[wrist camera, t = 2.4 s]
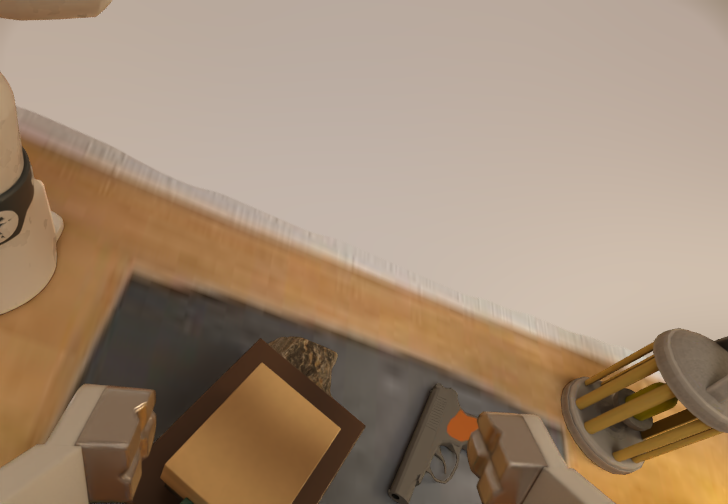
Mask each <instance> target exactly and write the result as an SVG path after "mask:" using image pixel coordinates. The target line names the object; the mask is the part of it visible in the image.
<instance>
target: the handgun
mask: <svg viewBox="0 0 728 504" xmlns="http://www.w3.org/2000/svg"><path fill="white" fill-rule="evenodd" d="M433 389H434V390H431V391H430V393H431V394H430V396H429V398H428V401H427V403H426V405H425V408H424V410H423V412H422V415H421V417H420V420H419V422H418V424H417V427H416V429H415V431H414V434H413V436H412V439H411V441H410V443H409V446H408V448H407V450H406V453H405V455H404V458H403V460H402V462H401V465H400V467H399V469H398V472H397V474H396V476H395V479H394V481H393V484H392V486H391V488H390V489H389V490H388V492H389V496H390V497H391V498H392V499H393V500H395V501H396V502H397V503H399V504H409V501H410V499H411V496H412V493H413V490H414V488H415V487H416V486H417V485H419V484H420V483H421V481H422V479H423V477H424V474H425V472H427V473H430V474H431V476H432V478H433V479H434V480H435V481H436V482H439V483H443V484H446V483H447V482H448V481H449V480H450V479H451V478H452V476H453V475H454V473H455V471H456V469H457V467H458V462H459V454H460V451H461V448H462V449H464V450H466V451H467V444H468V440H469V437H470V435H471V433H472V432H474V431H475V430H476V429H478V428H479V427H478V424H477V422H476V421H477V419H478V417H476V416H473V415H469V414H466V413H465V412H464V411H463V410H462V408H461V407H460V405H459V402H458V399H457V396H458V394H457V392H456V391H455V390H453V389H452V388H449V389H447V388H443V386H442V385H441V384H440V383H439V384H436V385H435V386H434V387H433ZM439 446H446V447H448V448H449V449H450V450H451V451H452V452H454V453H455V454H456V459H457V461H456V464H455V467H454V469H453V471H452V473H451V475H450V476H449V478H447V479H446V480H445V481H441V480H438V479H436V478H435V477H434V475H433V473H432V471H431V468H430V462H431V460H432V458H433V456H434V455H435V456H437V457H438V458H439V459H440V460H441V461H442V462H443V466H444V474H446V464H445V460H444V458H443V456H442V454H441V449H440V447H439Z"/></svg>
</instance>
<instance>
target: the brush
mask: <svg viewBox="0 0 728 504" xmlns="http://www.w3.org/2000/svg"><path fill="white" fill-rule="evenodd" d="M340 430H341V428H340V427H338V426H337V425H336V424H335V423H334V422H332V421H331V420H330V419H329V418H328V417H327V416H325V415H324V414H323V413H322V412H321V411H319V410H318V409H317V408H316V407H315V406H313V405H312V404H311V403H310V402H309V401H307V400H306V399H305V398H304V397H303V396H302V395H300V394H299V393H298V392H297V391H296V390H294V389H293V388H292V387H291V386H290V385H288V384H287V383H286V382H285V381H284V380H282V379H281V378H280V377H279V376H278V375H277V374H275V373H274V372H273V371H272V370H271V369H269V368H268V367H267V366H266V365H265V364H263V363H261V364H260V365H259V366H258V367H257V368H256V369H255V370H254V371H253V372H252V373H251V374H250V375H249V376H248V377H247V378H246V379H245V380H244V381H243V382H242V383H241V385H240V386H239V387H238V388H237V389H236V390H235V391H234V392H233V393H232V394H231V395H230V396H229V397H228V398H227V399H226V400H225V401H224V402H223V403H222V404H221V406H220V407H219V408H218V409H217V410H216V411H215V412H214V413H213V414H212V415H211V416H210V417H209V418H208V419H207V420H206V421H205V422H204V423H203V424H202V426H201V427H200V428H199V429H198V430H197V431H196V432H195V433H194V434H193V435H192V436H191V437H190V438H189V439H188V440H187V441H186V442H185V443H184V444H183V445H182V447H181V448H180V449H179V450H178V451H177V452H176V453H175V454H174V455H173V456H172V457H171V458H170V459H169V460H168V461H167V462H166V463H165V465H164V468H163V471H162V474H161V477H160V478H161V479H162V480H163V481H164V482H165V485H164V486H165V487H166V488H167V489H168V490H169V491H170V492H171V493H172V494H173V495H174V496H176V497H177V498H178V499H179V500H180V501H181V503H180V504H292V502H293V501H294V499H295V498H296V496H297V495H298V493H299V492H300V490H301V489H302V487H303V486H304V484H305V483H306V481H307V480H308V478H309V477H310V475H311V474H312V472H313V471H314V469H315V468H316V466H317V465H318V463H319V462H320V460H321V459H322V457H323V456H324V454H325V453H326V451H327V450H328V448H329V447H330V445H331V443H332V442H333V440H334V439H335V437H336V436H337V434H338V433H339V431H340Z"/></svg>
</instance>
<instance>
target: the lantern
mask: <svg viewBox="0 0 728 504" xmlns="http://www.w3.org/2000/svg"><path fill="white" fill-rule="evenodd" d="M652 351H653V353H654V355H652V356H650V357H648V358H646V359H644V360H643V361H641V362H639V363H637V364H635V365H633V366H631V367H630V368H628V369H626V370H624V371H622V372H620V373H619V374H617V375H615V376H613V377H611V378H609V379H608V380H606V381H604V382H602V381H600V380H601V379H602V378H604V377H606V376H608V375H610V374H612V373H613V372H615V371H617V370H619V369H621V368H622V367H624V366H626V365H628V364H630V363H632V362H633V361H635V360H637V359H639V358H641V357H642V356H644V355H646V354H648V353H650V352H652ZM657 371H660V373H661V375H662V377H663V379H664V381H665V382H666V383H661V382H658V383H654V384H652V385H650V386H648V387H646V388H644V389H642V390H640V391H638V392H636V393H635V392H634V391H632V390H630V389H626V388H625V387H627V386H629V385H631V384H633V383H635V382H637V381H639V380H641V379H643V378H645V377H647V376H649V375H651V374H653V373H655V372H657ZM678 400H679V401H680V402H681V403H682V404H683V405H684V406H685V407H686V408H687V409H686V410H683V411H681V412H678V413H676V414H674V415H671V416H669V417H666V418H664V419H662V420H659V421H657V422H655V423H653V418H652V417H653V416H655V415H657V414H659V413H662V412H664V411H666V410H669V409H671V408H673V407H674V406H675V405H676V404H677V401H678ZM561 404H562V413H563V416H564V419H565V422H566V425H567V428H568V430H569V432H570V433H571V435H572V437H573V439H574V440H575V442H576V444H577V445H578V446H579V447H580V448H581V450H582V451H583V452H584V453H585V455H586V456H587V457H588V458H589V459H591V460H592V461H593V462H594V463H595V464H597V465H598V466H599V467H600V468H602V469H604V470H607V471H609V472H611V473H613V474H623V475H626V474H628V473H631V472H634V471H636V470H638V469H640V468H641V467H642V465H643V463H644V461H645V460H648V459H651V458H654V457H656V456H659V455H662V454H665V453H668V452H670V451H673V450H676V449H679V448H682V447H684V446H687V445H690V444H693V443H696V442H698V441H701V440H704V439H707V438H710V437H712V436H715V435H718V434H721V433H724V432H725V433H728V337H724V338H721V339H718V340H716V341H713V340H711V339H709V338H707V337H705V336H703V335H701V334H698V333H695V332H691V331H689V330H684V329H681V328H678V329H672V330H668V331H665V332H663V333H662V334H660V335H658V336H657V338H656V339H655V341H654V342H653V343H651V344H649V345H647V346H646V347H644V348H642V349H640V350H638V351H637V352H635V353H633V354H631V355H630V356H628V357H626V358H624V359H623V360H621V361H619V362H617V363H615V364H614V365H612V366H610V367H608V368H607V369H605V370H603V371H601V372H600V373H598V374H596V375H594V376H592V377H591V378H589V377H581V378H577V379H575V380H573V381H571V382H570V383H569V384H568V385H567V386H566V387H565V388H564V390H563V394H562V398H561ZM696 419H698V420H696ZM693 420H695V421H693ZM691 421H693V422H691ZM688 422H690V423H688ZM686 423H687V424H686ZM683 424H685V425H683ZM681 425H682V426H681ZM678 426H680V427H678ZM676 427H677V428H676ZM673 428H675V429H673ZM710 428H711V429H710ZM670 429H672V430H670ZM707 429H708V430H707ZM668 430H670V431H668ZM705 430H706V431H705ZM665 431H667V432H665ZM702 431H703V432H702ZM663 432H665V433H663ZM699 432H700V433H699ZM660 433H662V434H660ZM658 434H660V435H658ZM694 434H695V435H694ZM655 435H657V436H655ZM691 435H692V436H691ZM653 436H654V437H653ZM650 437H652V438H650ZM686 437H687V438H686ZM648 438H649V439H648ZM683 438H684V439H683ZM646 439H647V440H646ZM678 440H679V441H678ZM675 441H676V442H675ZM672 442H673V443H672ZM667 444H668V445H667ZM664 445H665V446H664ZM659 447H660V448H659ZM656 448H657V449H656ZM651 450H652V451H651ZM648 451H649V452H648Z"/></svg>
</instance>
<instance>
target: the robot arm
mask: <svg viewBox="0 0 728 504" xmlns="http://www.w3.org/2000/svg"><path fill="white" fill-rule="evenodd" d="M111 1H112V0H0V18H6V19H13V20H52V19H70V18H86V17H96V16H98V15H99V14H100V13H101V12H102V11H103V10H105V8H106V7H107V6H108V5H109V4H110V3H111ZM63 229H64V223H63V220H62V218H61V217H60V216H59V215H58V214H56V213H54V212H53V211H51V210H50V207H49V203H48V199H47V195H46V191H45V187H44V185H43V183H42V182H41V181H40V180H36V179H35V178H34V175H33V170H32V166H31V164H30V162H29V157H28V155H27V153H26V151H25V149H24V148H23V147H22V145H21V139H20V133H19V126H18V119H17V113H16V106H15V100H14V95H13V92H12V90H11V87H10V85H9V83H8V82H7V80H6V79H5V77H4V76H3V75H2V73H1V72H0V315H1V314H3V313H6V312H9V311H11V310H13V309H15V308H17V307H19V306H21V305H23V304H25V303H26V302H28V301H29V300H31V299H32V298H33V297H35V296H36V295H37V294H38V293H39V292H40V291H41V290H42V289H43V288H44V287H45V286H46V285H47V284H48V282H49V281H50V279H51V277H52V276H53V274H54V271H55V268H56V264H57V252H56V243H57V240H58V239H59V237H60V235H61V233H62V231H63ZM155 403H156V393H155V390H152V389H141V388H130V387H119V386H104V385H93V384H84V385H83V386H81V387H80V388H79V389H78V391H77V392H76V394H75V395H74V397H73V399H72V400H71V402H70V404H69V405H68V407H67V409H66V410H65V412H64V414H63V415H62V417H61V418H60V420H59V422H58V423H57V425H56V427H55V428H54V430H53V432H52V433H51V435H50V437H49V438H48V440H47V441H46V443H45V444H37V445H35V446H34V447H32V448H30V449H29V450H27V451H26V452H24V453H23V454H21V455H20V456H18V457H17V458H15V459H13V460H12V461H10V462H9V463H7V464H6V465H4V466H3V467H1V468H0V504H89V503H132V500H133V497H134V494H135V492H136V489H137V486H138V484H139V481H140V478H141V475H142V465H141V462H142V461H144V460H145V459H146V458H147V457H148V456H149V453H150V450H151V447H152V444H153V440H154V436H155V430H156V414H155V413H154V412H153V411H152V410H153V408H154V405H155ZM476 422H477V424H478V427H479V428H478V429H476V430H475V431H474V432H472V433H471V435H470V437H469V440H468V444H467V457H468V462H469V466H470V469H471V471H472V472H473V473H474V474H475V475H476V476H477V477H478V478H479V481H478V484H477V490H478V493H479V496H480V499H481V501H482V504H616V503H614V502H613V501H612V500H611V499H609V498H608V497H607V496H606V495H605V494H603V493H602V492H601V491H600V490H599V489H597V488H596V487H595V486H594V485H593V484H591V483H590V482H589V481H588V480H586V479H585V478H584V477H583V476H582V475H580V474H579V473H578V472H577V471H576V470H574V469H571V468H568V467H567V465H566V464H565V462H564V460H563V458H562V456H561V454H560V453H559V451H558V449H557V447H556V445H555V444H554V442H553V440H552V438H551V436H550V434H549V433H548V431H547V429H546V427H545V425H544V424H543V422H542V420H541V418H540V417H539V416H537V415H532V414H516V413H500V412H482V413H481V414H480V415H479V417H478V419H477V421H476Z"/></svg>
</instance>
